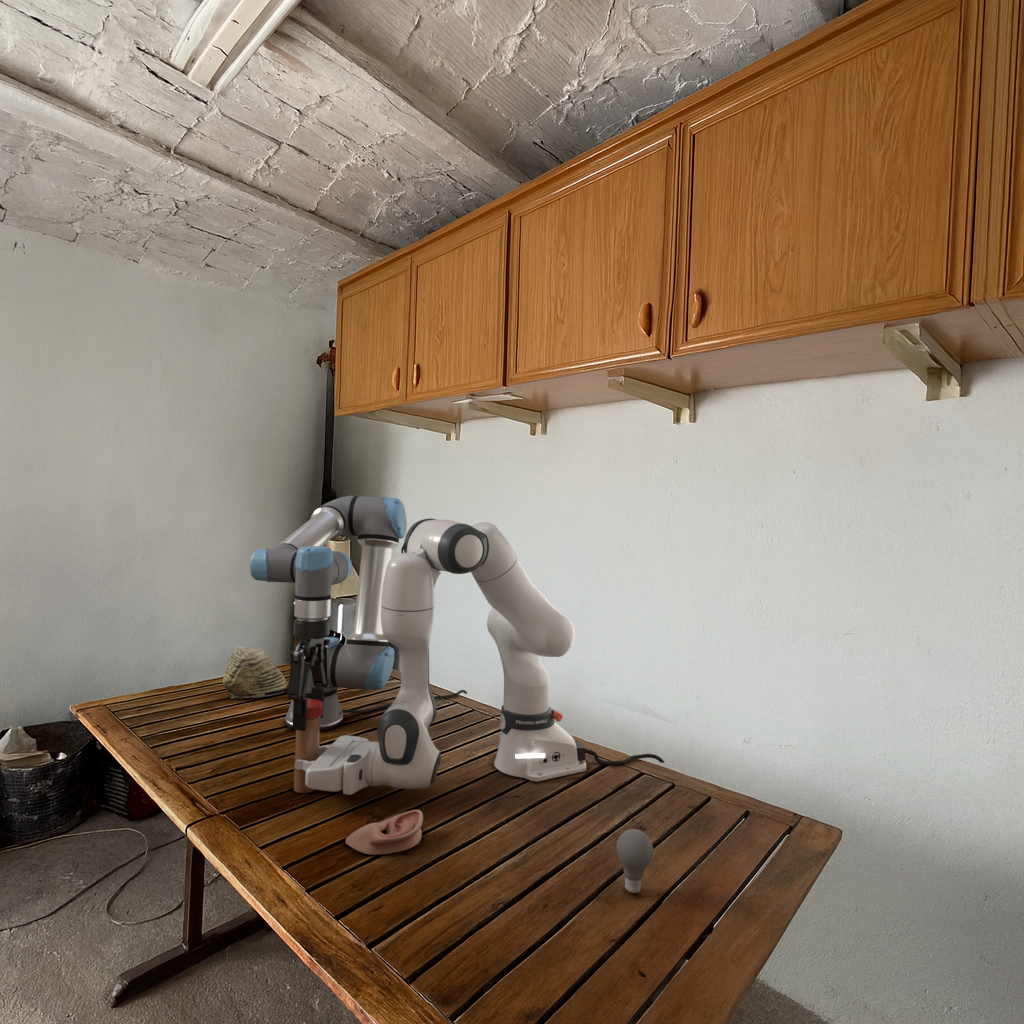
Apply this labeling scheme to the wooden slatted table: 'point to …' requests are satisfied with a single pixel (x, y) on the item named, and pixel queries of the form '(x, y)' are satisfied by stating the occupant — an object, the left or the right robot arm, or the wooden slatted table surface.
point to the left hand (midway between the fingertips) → (308, 723)
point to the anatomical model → (388, 834)
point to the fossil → (252, 674)
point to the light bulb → (634, 857)
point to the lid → (314, 708)
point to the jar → (306, 751)
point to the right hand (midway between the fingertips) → (302, 757)
